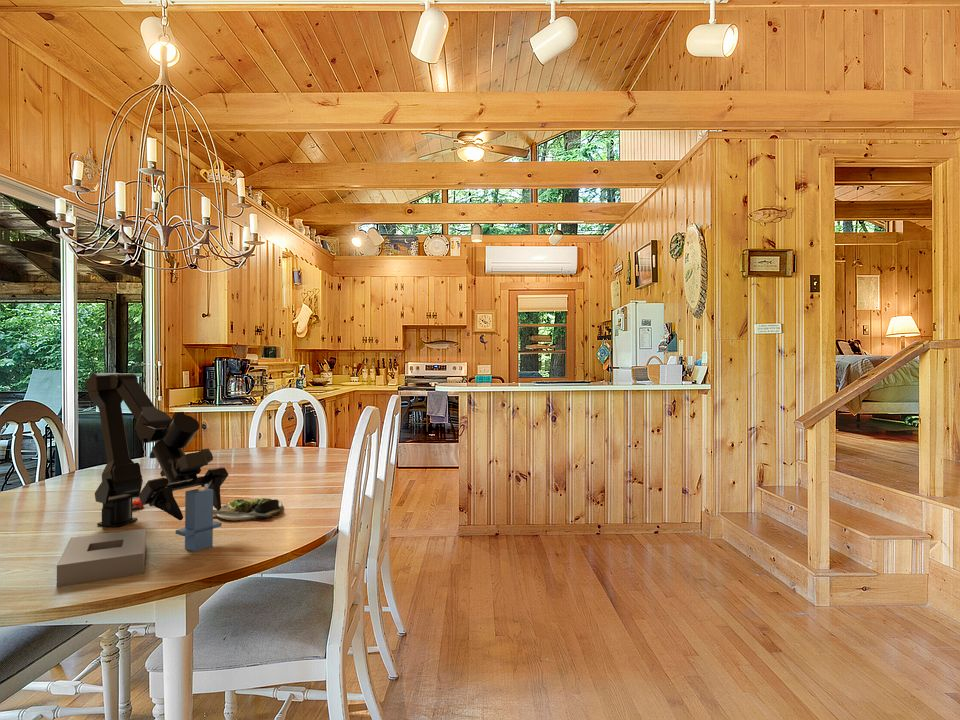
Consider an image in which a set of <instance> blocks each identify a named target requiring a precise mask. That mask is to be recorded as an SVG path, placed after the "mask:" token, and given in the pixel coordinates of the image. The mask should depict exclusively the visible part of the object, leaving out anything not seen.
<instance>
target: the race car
mask: <svg viewBox="0 0 960 720" xmlns="http://www.w3.org/2000/svg"><path fill="white" fill-rule="evenodd" d="M144 506H145V505H143V504H142V503H141V501H140V499H139V497H134V498H133V500H132V511H134V510H138V509H144Z"/></svg>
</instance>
